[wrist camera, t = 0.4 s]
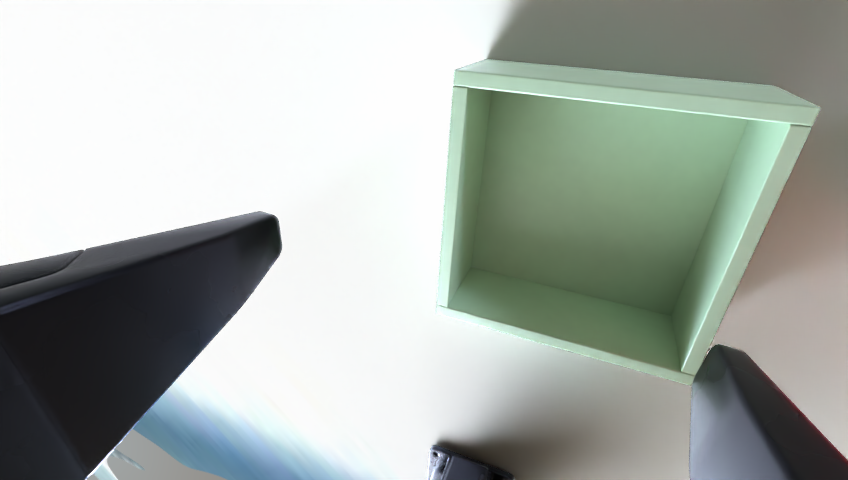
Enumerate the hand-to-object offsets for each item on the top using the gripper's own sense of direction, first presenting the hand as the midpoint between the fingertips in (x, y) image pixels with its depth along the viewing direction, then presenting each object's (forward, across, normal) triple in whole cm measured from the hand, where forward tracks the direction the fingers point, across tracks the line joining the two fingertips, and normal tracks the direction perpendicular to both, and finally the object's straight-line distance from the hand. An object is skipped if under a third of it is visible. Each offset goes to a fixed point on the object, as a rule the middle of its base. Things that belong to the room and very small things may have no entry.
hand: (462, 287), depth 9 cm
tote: (+14, -2, +4) cm, 15 cm away
